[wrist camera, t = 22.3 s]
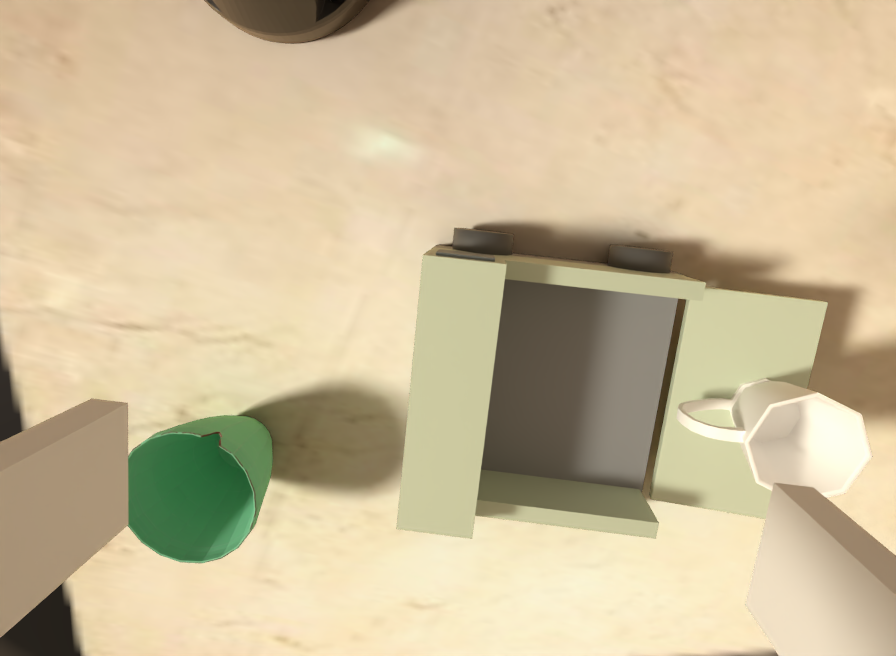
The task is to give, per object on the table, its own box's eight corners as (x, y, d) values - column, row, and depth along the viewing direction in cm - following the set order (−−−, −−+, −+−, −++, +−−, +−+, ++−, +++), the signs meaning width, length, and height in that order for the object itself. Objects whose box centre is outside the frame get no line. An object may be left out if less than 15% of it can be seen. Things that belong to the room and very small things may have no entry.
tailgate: (692, 286, 41) (828, 302, 40) (688, 284, 43) (819, 299, 41) (651, 499, 45) (775, 520, 43) (648, 491, 46) (769, 512, 45)
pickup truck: (439, 225, 45) (425, 229, 34) (673, 251, 44) (734, 263, 34) (413, 475, 49) (394, 549, 38) (627, 502, 49) (668, 585, 38)
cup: (803, 458, 42) (861, 512, 34) (660, 441, 44) (684, 490, 36) (821, 364, 41) (885, 399, 33) (672, 351, 42) (701, 381, 35)
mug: (289, 381, 48) (240, 424, 38) (310, 489, 50) (268, 557, 40) (123, 400, 49) (34, 447, 40) (149, 506, 51) (71, 575, 41)
